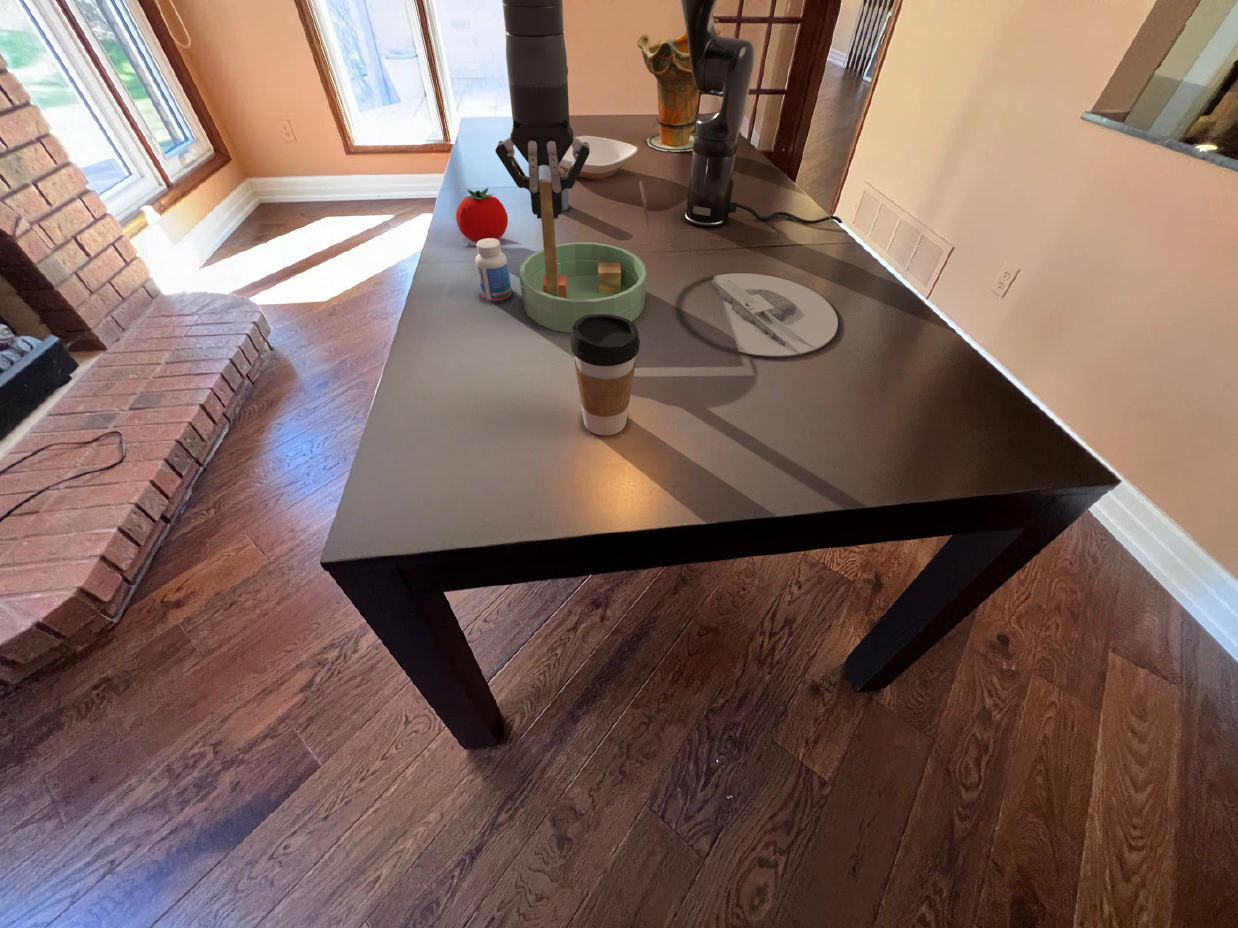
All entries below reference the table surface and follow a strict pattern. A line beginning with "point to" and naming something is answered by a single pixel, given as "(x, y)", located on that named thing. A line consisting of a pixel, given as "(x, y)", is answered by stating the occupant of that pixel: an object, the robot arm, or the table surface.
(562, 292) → the block
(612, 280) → the block
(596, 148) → the bowl
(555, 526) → the table surface
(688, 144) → the decorative vase
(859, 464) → the table surface
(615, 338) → the coffee cup
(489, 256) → the pill bottle
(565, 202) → the stick holder
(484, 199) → the tomato
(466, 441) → the table surface
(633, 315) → the stir bowl
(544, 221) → the stick
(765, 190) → the table surface
